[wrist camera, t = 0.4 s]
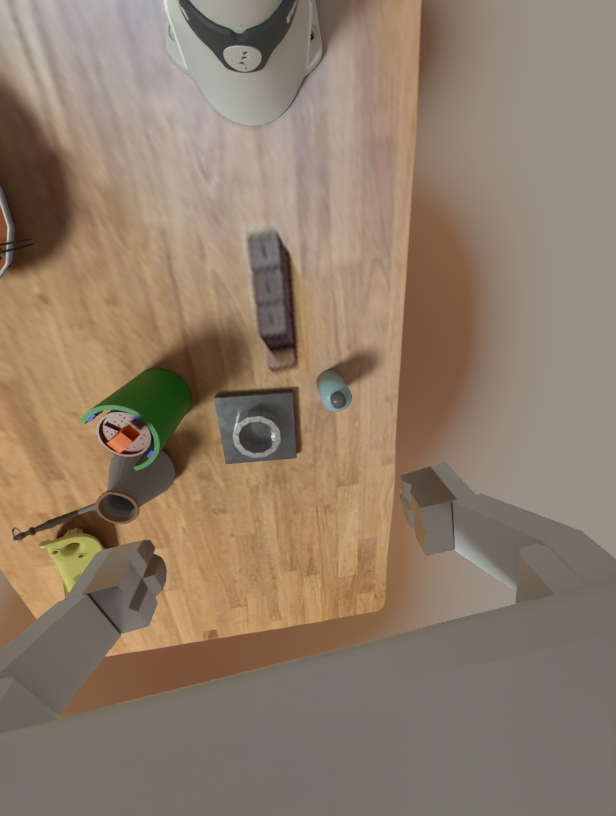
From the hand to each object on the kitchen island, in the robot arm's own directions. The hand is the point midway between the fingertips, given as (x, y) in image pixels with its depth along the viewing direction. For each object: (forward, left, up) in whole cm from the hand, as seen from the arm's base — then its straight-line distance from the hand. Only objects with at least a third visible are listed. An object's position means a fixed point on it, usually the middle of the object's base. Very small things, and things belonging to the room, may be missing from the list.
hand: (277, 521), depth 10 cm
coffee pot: (+26, -32, -45) cm, 61 cm away
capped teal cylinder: (+11, +9, -45) cm, 47 cm away
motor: (+11, -21, -45) cm, 51 cm away
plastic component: (+47, -46, -45) cm, 80 cm away
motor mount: (+19, -5, -45) cm, 49 cm away
